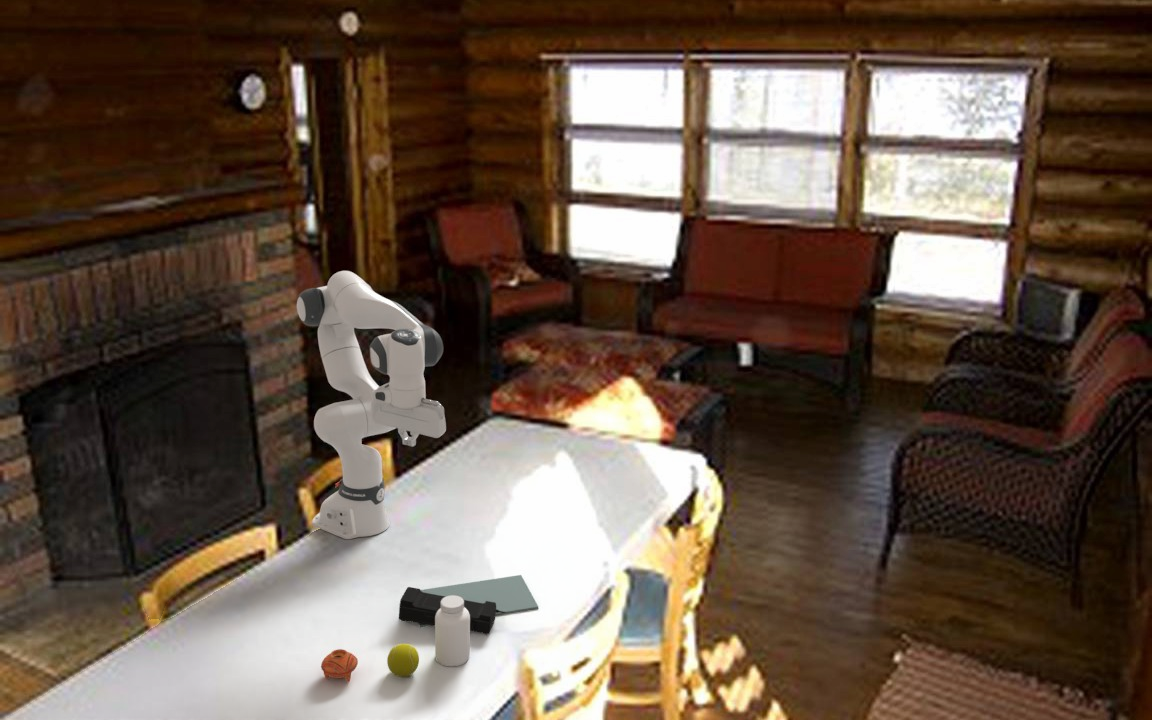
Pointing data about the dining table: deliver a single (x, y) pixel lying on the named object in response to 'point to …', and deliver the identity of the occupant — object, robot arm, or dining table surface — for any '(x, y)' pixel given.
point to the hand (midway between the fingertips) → (409, 444)
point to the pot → (339, 664)
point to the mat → (492, 594)
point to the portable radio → (426, 605)
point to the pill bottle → (452, 632)
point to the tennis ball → (403, 660)
